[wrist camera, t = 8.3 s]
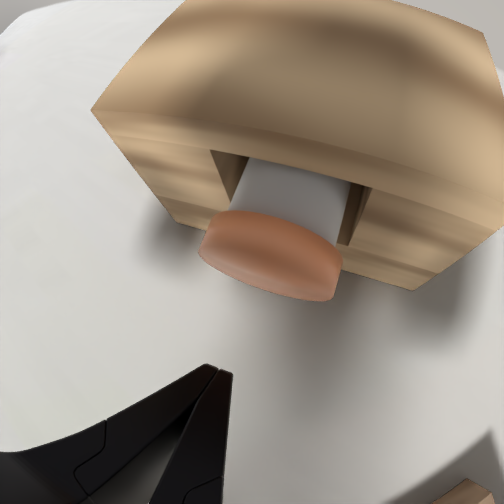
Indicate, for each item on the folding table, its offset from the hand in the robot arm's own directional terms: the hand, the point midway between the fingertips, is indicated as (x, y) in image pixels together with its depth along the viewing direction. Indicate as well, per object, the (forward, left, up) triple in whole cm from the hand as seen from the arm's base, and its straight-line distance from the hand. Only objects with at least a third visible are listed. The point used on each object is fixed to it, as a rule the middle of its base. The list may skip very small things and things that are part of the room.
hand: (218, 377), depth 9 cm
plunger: (+4, +6, -4) cm, 9 cm away
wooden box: (+7, +9, -8) cm, 14 cm away
